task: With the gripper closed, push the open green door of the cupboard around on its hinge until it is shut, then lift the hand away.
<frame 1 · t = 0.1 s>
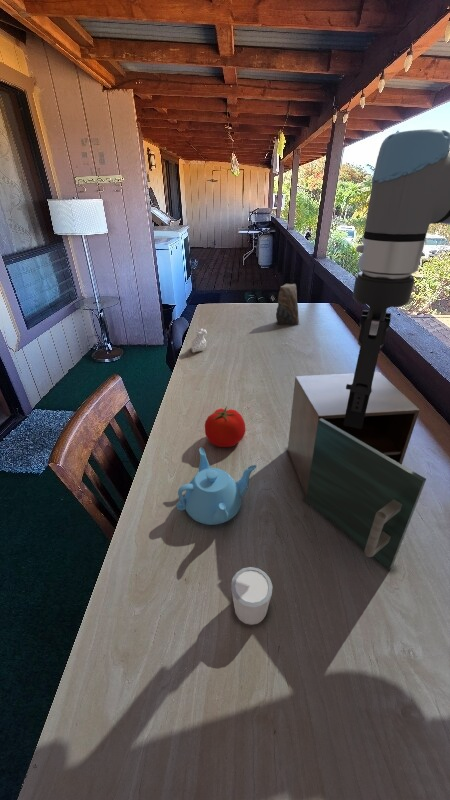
hand: (356, 404, 59), 32 cm above the table, tool pointing down, fingers open, 13 cm apart
tomato: (224, 442, 102), on the table
glass of milk: (250, 609, 61), on the table
teapot: (217, 506, 82), on the table
brown rock: (287, 323, 194), on the table
cupboard: (336, 469, 92), on the table
cupboard door: (344, 498, 67), point 12 cm above the table, hinge at 60.0°
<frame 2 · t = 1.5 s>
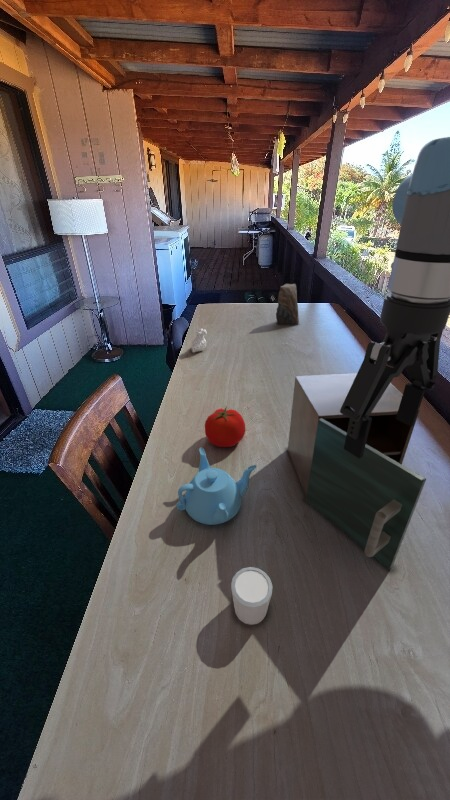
hand: (380, 436, 53), 31 cm above the table, tool pointing down, fingers open, 12 cm apart
nothing on the table moved.
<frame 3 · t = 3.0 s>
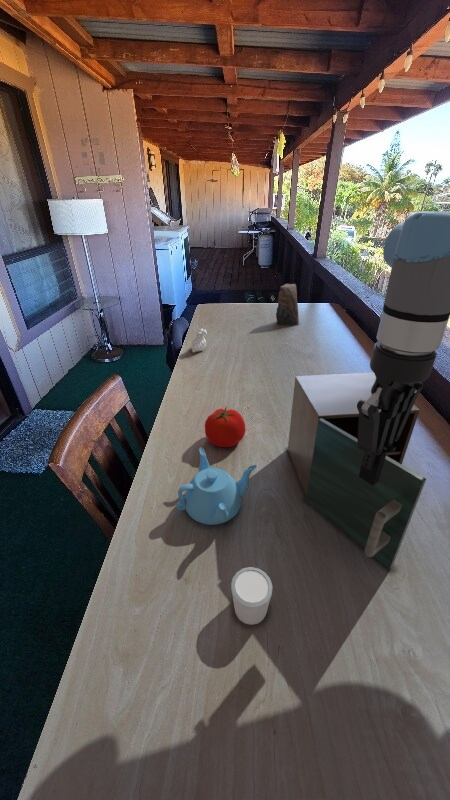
hand: (368, 479, 58), 22 cm above the table, tool pointing down, fingers closed
nothing on the table moved.
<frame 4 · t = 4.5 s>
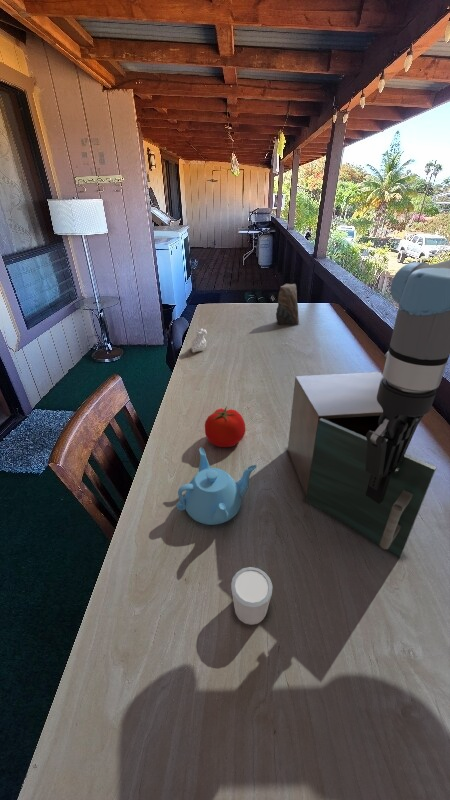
hand: (374, 497, 63), 15 cm above the table, tool pointing down, fingers closed
cupboard door: (353, 495, 68), point 12 cm above the table, hinge at 49.1°, touching hand
everything else where it was.
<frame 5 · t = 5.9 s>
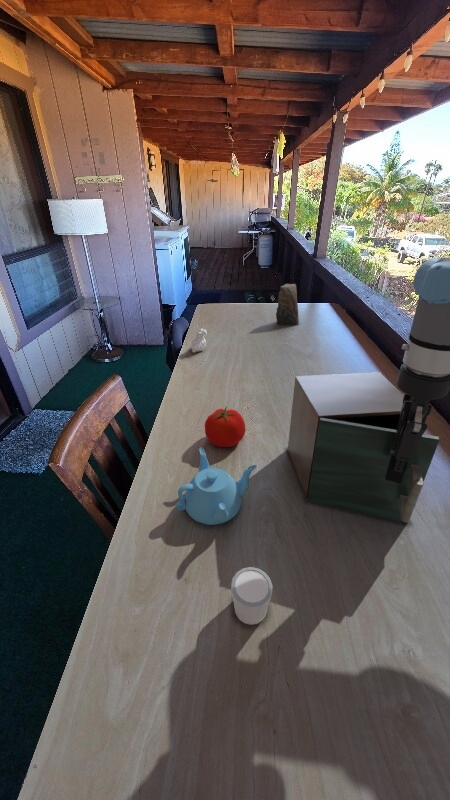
hand: (393, 479, 67), 15 cm above the table, tool pointing down, fingers closed
cupboard door: (365, 482, 71), point 12 cm above the table, hinge at 23.5°, touching hand
everything else where it was.
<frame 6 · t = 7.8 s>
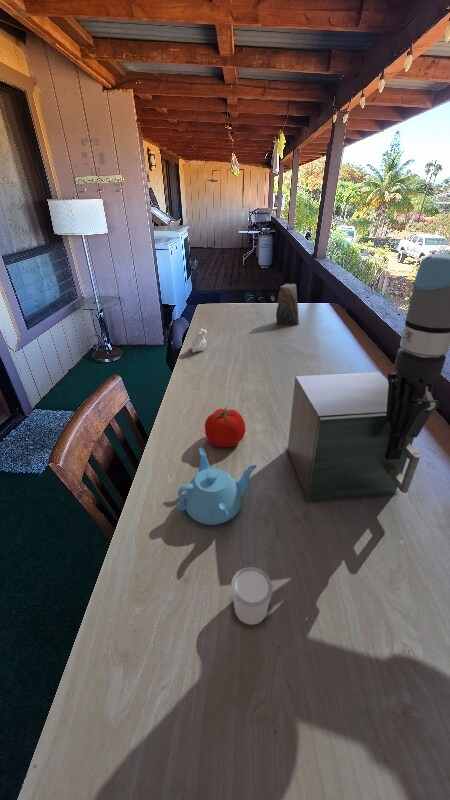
hand: (392, 457, 72), 15 cm above the table, tool pointing down, fingers closed
cupboard door: (366, 467, 75), point 12 cm above the table, hinge at -0.6°, touching hand
everything else where it was.
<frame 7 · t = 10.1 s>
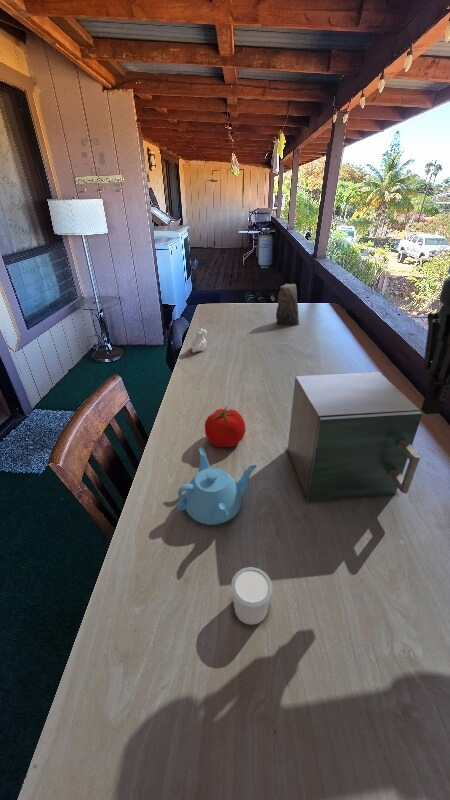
hand: (430, 411, 64), 28 cm above the table, tool pointing down, fingers closed
cupboard door: (366, 468, 75), point 12 cm above the table, hinge at -0.3°
everything else where it was.
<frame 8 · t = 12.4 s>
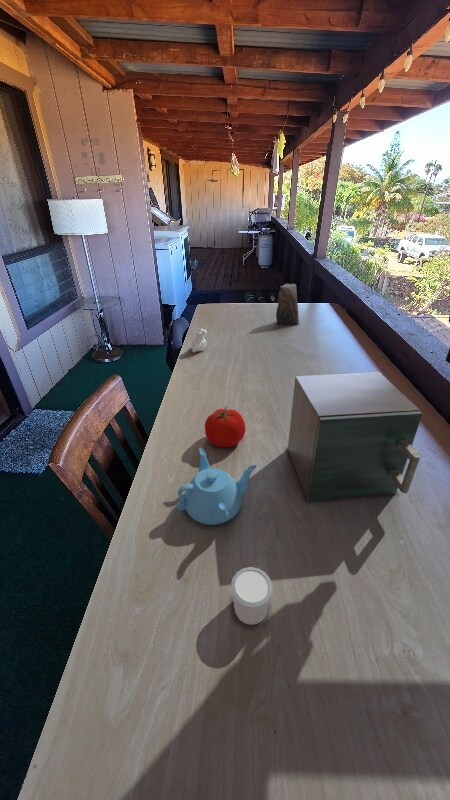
nothing on the table moved.
at the end: cupboard door at +0° (first picture: +60°); teapot moved 0.2 cm from its start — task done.
